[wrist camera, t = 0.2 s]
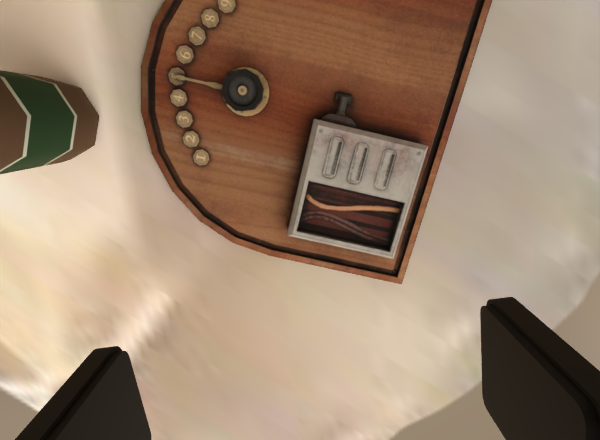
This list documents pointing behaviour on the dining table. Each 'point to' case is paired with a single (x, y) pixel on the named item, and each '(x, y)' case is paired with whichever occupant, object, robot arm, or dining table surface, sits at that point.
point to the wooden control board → (309, 119)
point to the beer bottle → (42, 122)
